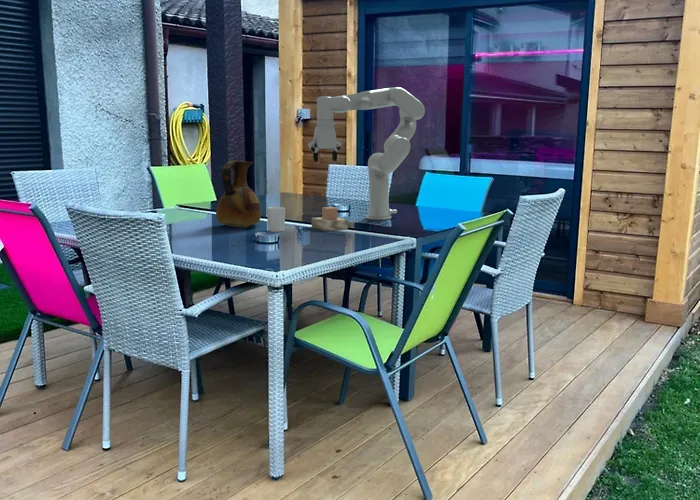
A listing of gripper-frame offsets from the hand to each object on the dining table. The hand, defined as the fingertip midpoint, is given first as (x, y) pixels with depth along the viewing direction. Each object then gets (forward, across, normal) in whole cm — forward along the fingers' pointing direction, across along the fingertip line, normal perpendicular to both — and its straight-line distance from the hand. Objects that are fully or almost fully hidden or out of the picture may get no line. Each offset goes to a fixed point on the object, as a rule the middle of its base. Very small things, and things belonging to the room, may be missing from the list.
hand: (325, 161), depth 315 cm
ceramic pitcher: (+28, +42, -3) cm, 51 cm away
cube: (+24, +7, +18) cm, 31 cm away
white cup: (+28, +31, +14) cm, 44 cm away
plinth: (+28, +7, +18) cm, 34 cm away
